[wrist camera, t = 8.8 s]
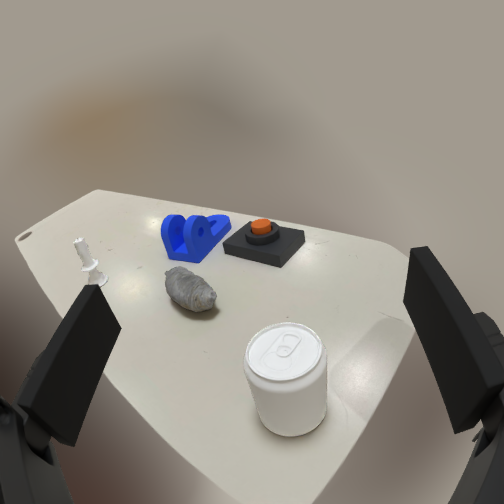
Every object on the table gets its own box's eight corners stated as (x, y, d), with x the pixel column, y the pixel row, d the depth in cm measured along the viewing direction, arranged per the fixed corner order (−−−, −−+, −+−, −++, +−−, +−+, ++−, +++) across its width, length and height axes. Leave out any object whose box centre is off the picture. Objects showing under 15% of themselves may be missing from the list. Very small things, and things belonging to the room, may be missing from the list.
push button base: (305, 241, 67) (303, 222, 64) (281, 267, 60) (278, 247, 58) (251, 231, 75) (248, 214, 72) (224, 253, 68) (220, 235, 66)
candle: (106, 286, 65) (84, 240, 59) (86, 291, 65) (64, 246, 58) (110, 273, 70) (90, 229, 63) (91, 278, 69) (71, 235, 63)
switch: (275, 227, 66) (274, 220, 65) (264, 237, 63) (263, 229, 62) (259, 224, 68) (258, 217, 67) (248, 233, 65) (246, 226, 64)
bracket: (198, 263, 67) (187, 225, 62) (169, 259, 70) (157, 224, 66) (236, 222, 80) (229, 189, 75) (209, 221, 84) (201, 189, 79)
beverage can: (247, 424, 34) (224, 367, 28) (278, 376, 40) (266, 311, 33) (309, 447, 30) (305, 396, 24) (336, 393, 36) (339, 329, 29)
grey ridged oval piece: (182, 264, 62) (171, 240, 55) (227, 310, 56) (221, 290, 49) (157, 284, 60) (143, 262, 53) (200, 333, 54) (189, 316, 47)
